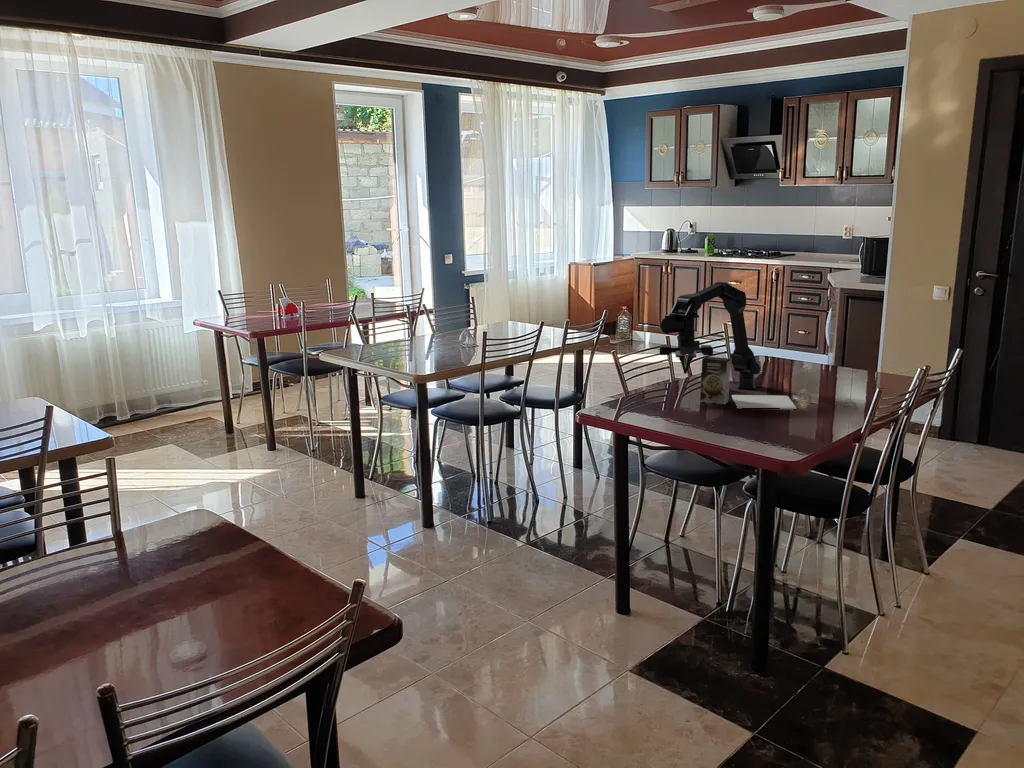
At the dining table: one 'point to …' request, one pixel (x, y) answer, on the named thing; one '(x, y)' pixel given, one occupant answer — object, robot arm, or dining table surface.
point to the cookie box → (715, 380)
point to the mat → (763, 401)
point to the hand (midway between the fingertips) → (685, 373)
